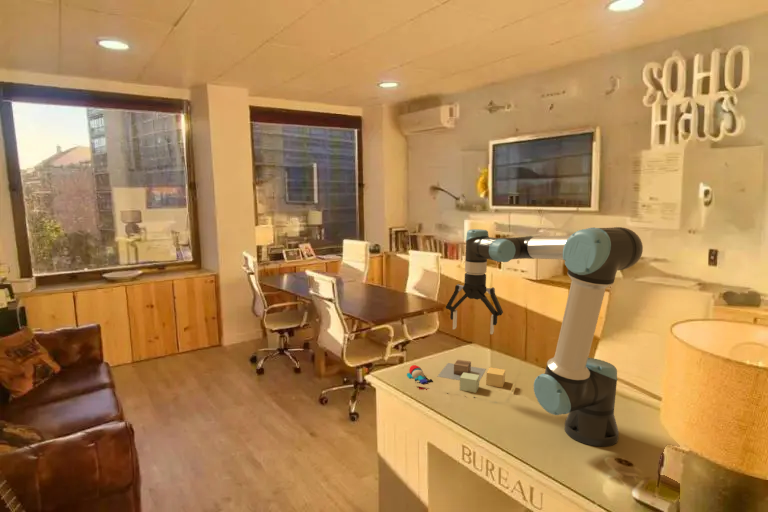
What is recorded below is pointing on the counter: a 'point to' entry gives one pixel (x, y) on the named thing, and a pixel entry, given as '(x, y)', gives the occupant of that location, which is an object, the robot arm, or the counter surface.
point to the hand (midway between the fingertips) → (472, 330)
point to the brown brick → (462, 367)
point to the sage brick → (469, 382)
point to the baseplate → (449, 373)
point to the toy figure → (418, 375)
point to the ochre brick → (495, 377)
